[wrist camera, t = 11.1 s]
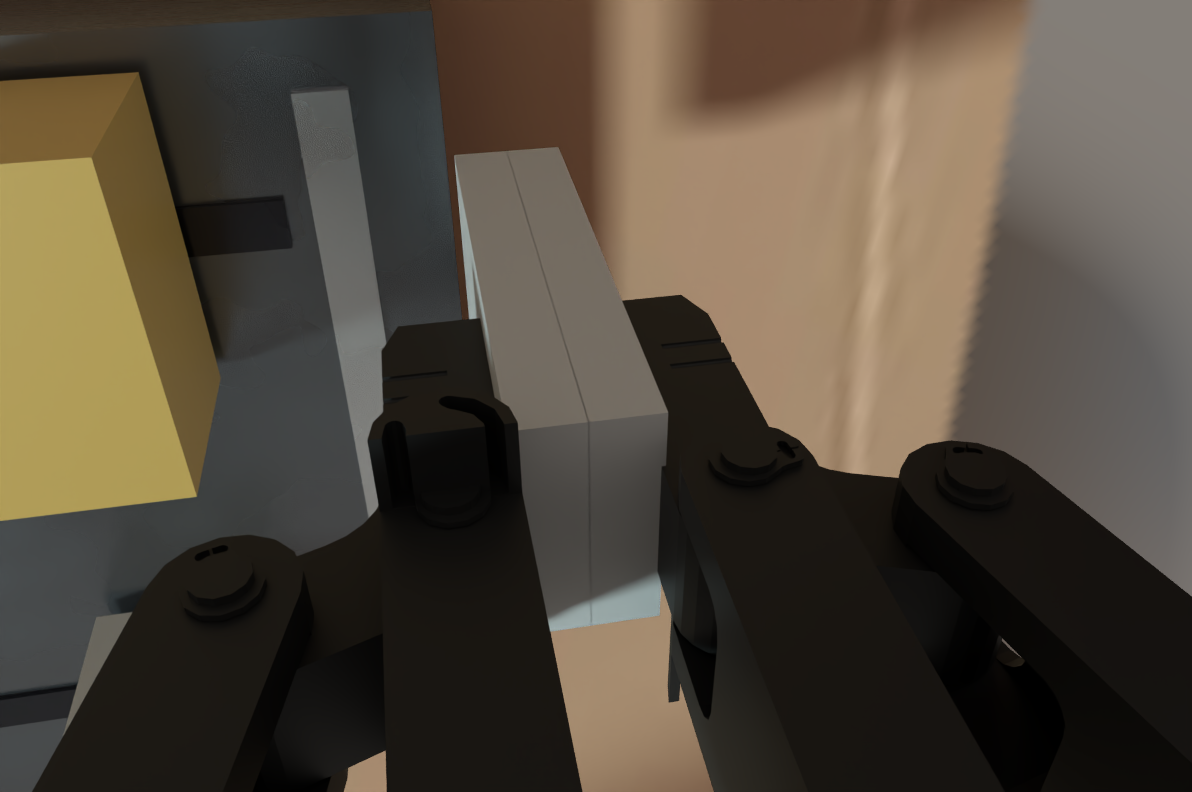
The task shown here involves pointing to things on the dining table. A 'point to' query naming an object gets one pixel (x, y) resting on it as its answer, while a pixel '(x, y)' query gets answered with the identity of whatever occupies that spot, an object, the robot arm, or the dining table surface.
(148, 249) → the amber block
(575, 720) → the dining table surface
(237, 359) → the fader console
